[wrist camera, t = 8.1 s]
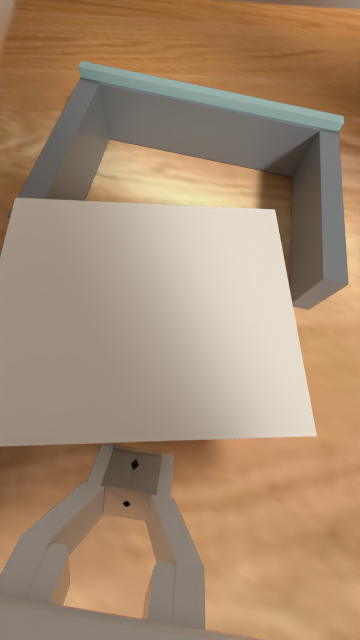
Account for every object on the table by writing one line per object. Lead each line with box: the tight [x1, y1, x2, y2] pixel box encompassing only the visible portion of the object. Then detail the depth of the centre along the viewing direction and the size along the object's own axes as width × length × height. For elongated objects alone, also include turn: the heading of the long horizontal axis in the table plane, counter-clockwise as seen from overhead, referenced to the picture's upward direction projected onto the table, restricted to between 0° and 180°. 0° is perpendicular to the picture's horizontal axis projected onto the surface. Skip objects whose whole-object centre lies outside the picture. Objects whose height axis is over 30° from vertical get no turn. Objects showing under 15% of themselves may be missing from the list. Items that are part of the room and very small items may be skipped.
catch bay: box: [8, 61, 348, 309], centre depth 18 cm, size 20×14×5 cm
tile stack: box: [0, 198, 317, 447], centre depth 13 cm, size 12×10×7 cm
